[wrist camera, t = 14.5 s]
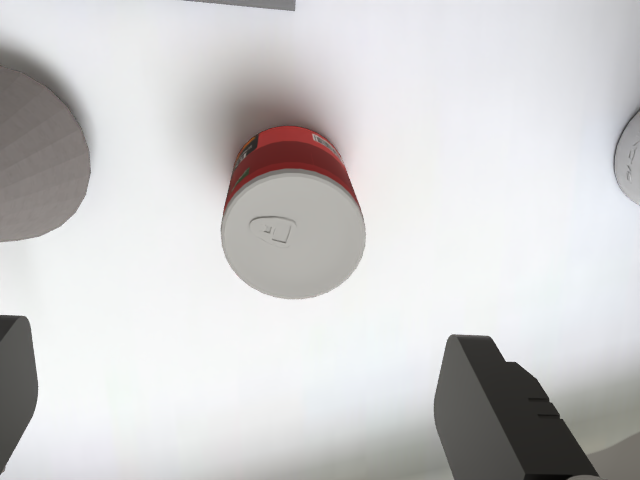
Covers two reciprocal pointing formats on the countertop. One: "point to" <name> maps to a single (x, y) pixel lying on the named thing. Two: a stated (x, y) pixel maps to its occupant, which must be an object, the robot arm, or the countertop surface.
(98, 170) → the countertop surface
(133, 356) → the countertop surface
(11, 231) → the coffee pot
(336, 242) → the canned food
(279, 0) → the dock
